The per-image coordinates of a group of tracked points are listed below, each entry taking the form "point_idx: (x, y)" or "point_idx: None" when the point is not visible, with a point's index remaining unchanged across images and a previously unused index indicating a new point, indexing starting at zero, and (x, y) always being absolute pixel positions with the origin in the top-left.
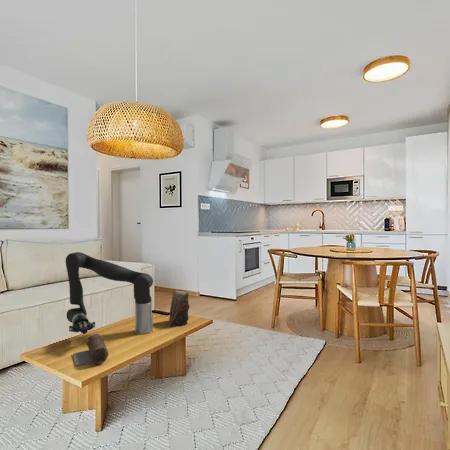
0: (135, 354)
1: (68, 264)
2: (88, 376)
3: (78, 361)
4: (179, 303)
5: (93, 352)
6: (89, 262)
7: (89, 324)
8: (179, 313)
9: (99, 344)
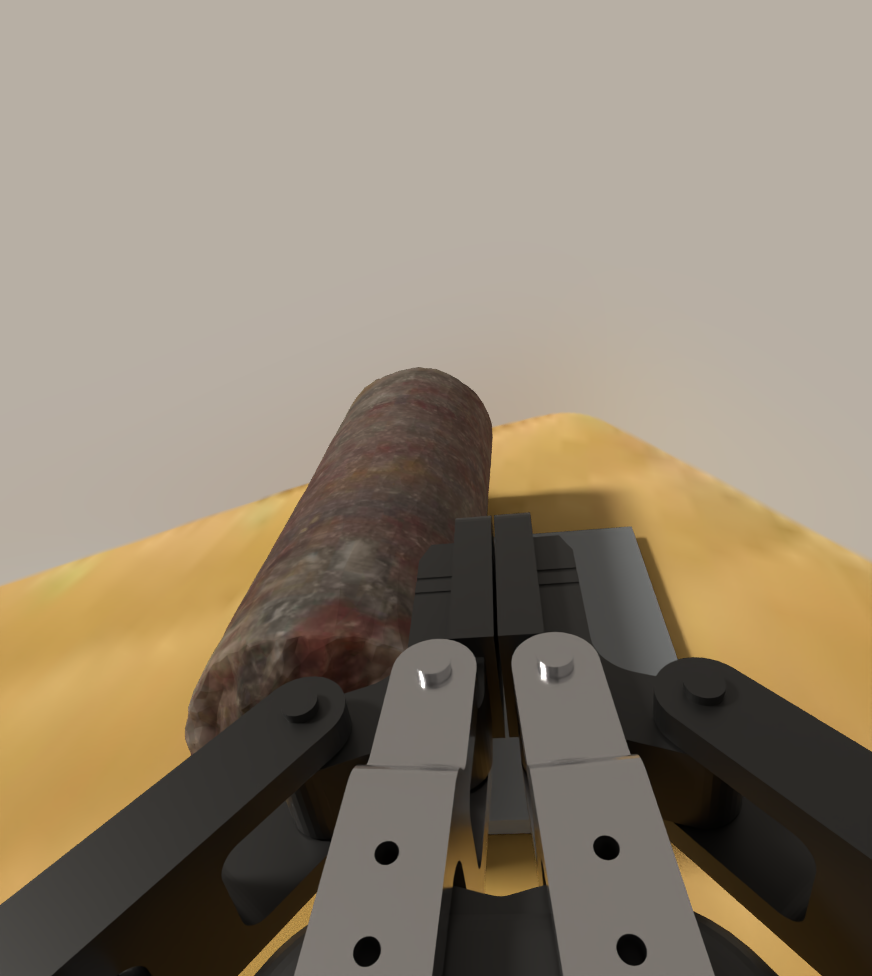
0: (108, 559)
1: None
2: (536, 428)
3: (612, 573)
4: None
5: (470, 392)
6: None
7: (239, 802)
8: None
9: (388, 400)
